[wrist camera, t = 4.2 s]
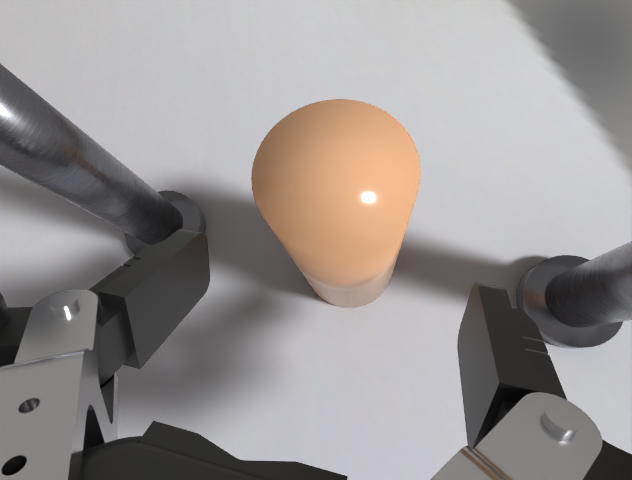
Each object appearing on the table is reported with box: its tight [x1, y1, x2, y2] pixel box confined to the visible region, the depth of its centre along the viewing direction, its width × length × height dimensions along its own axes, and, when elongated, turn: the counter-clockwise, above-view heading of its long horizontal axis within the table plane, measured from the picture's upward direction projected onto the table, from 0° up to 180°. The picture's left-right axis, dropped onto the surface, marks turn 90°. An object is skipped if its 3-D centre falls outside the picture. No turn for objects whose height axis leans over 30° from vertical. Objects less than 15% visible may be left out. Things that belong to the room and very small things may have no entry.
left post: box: [0, 64, 205, 255], centre depth 15 cm, size 4×4×13 cm
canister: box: [251, 99, 421, 308], centre depth 15 cm, size 4×4×10 cm
